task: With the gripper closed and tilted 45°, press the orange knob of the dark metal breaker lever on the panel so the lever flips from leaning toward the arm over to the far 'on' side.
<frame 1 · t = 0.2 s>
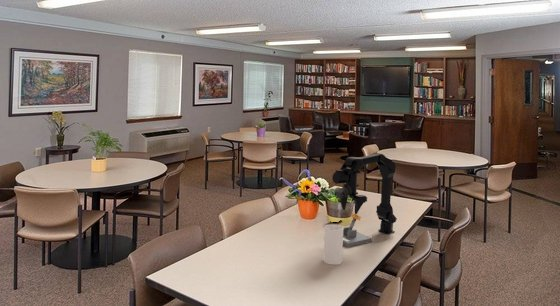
hand: (349, 212, 221), 15 cm above the table, tool pointing down, fingers open, 9 cm apart
breaker lever: (354, 220, 224), point 9 cm above the table, hinge at -30.0°
cup: (332, 261, 194), on the table
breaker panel: (348, 239, 224), on the table
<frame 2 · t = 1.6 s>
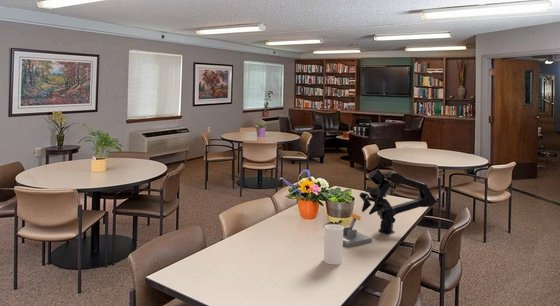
hand: (365, 212, 228), 13 cm above the table, tool tilted 45°, fingers open, 5 cm apart
nothing on the table moved.
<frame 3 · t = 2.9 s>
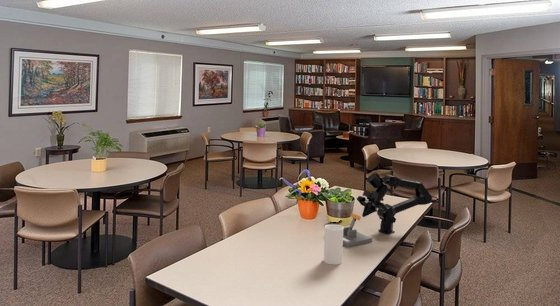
hand: (362, 216, 228), 11 cm above the table, tool tilted 45°, fingers closed
nothing on the table moved.
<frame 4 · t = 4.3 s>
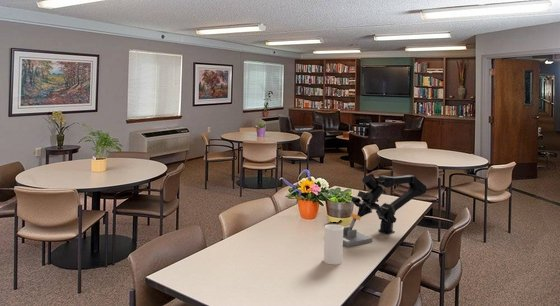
hand: (357, 217, 226), 11 cm above the table, tool tilted 45°, fingers closed, pressing on breaker lever
breaker lever: (354, 220, 224), point 9 cm above the table, hinge at -30.0°, touching gripper
everything else where it was.
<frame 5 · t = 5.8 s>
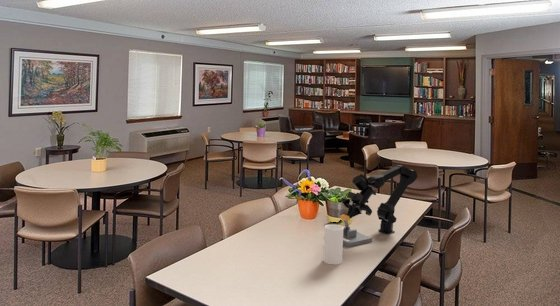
hand: (346, 218, 222), 11 cm above the table, tool tilted 45°, fingers closed, pressing on breaker lever
breaker lever: (345, 221, 221), point 10 cm above the table, hinge at 19.4°, touching gripper
everything else where it was.
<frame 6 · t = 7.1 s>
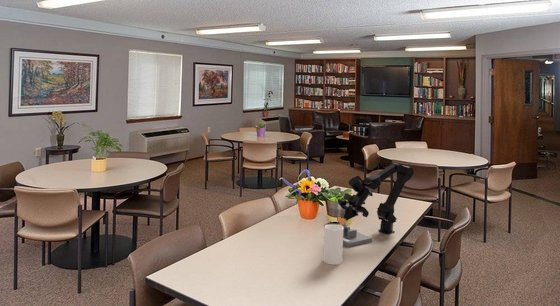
hand: (343, 220, 220), 10 cm above the table, tool tilted 45°, fingers closed, pressing on breaker lever
breaker lever: (343, 223, 221), point 9 cm above the table, hinge at 35.3°, touching gripper
everything else where it was.
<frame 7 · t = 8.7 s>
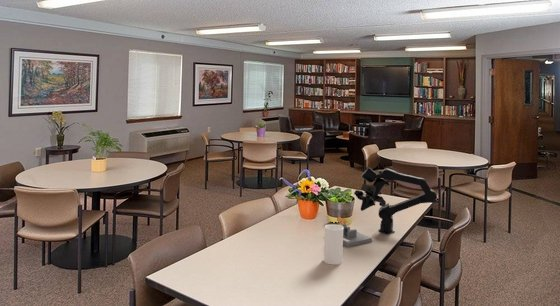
hand: (361, 210, 229), 14 cm above the table, tool tilted 45°, fingers closed
breaker lever: (343, 223, 221), point 9 cm above the table, hinge at 35.4°
everything else where it was.
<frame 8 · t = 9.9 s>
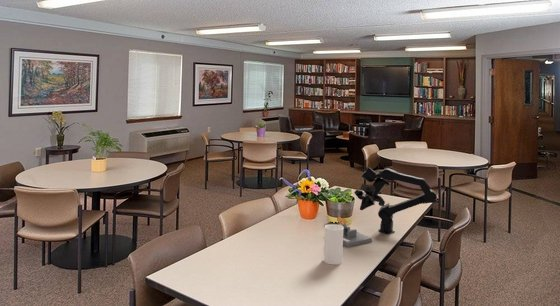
hand: (360, 209, 230), 14 cm above the table, tool tilted 45°, fingers closed
nothing on the table moved.
at the end: breaker lever at +35° (first picture: -30°); cup moved 0.2 cm from its start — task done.
